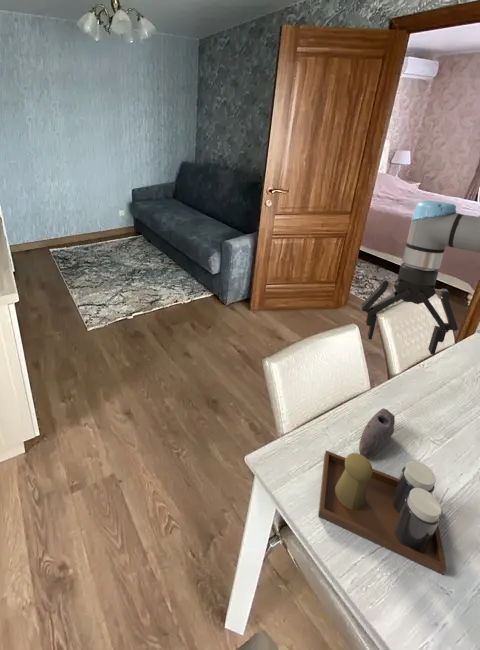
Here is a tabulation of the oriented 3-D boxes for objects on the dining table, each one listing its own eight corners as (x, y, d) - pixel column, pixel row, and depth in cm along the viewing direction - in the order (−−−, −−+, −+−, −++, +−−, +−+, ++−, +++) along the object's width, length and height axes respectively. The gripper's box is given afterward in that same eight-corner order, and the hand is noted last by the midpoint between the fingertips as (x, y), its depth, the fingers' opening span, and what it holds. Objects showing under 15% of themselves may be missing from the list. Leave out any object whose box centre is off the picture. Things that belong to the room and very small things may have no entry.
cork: (338, 476, 80) (347, 442, 76) (367, 492, 76) (378, 458, 72) (331, 498, 75) (341, 464, 71) (362, 516, 72) (374, 481, 68)
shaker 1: (419, 500, 75) (434, 466, 71) (423, 526, 70) (440, 491, 66) (390, 488, 77) (403, 454, 73) (392, 513, 73) (406, 478, 68)
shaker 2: (424, 529, 70) (440, 494, 66) (428, 559, 65) (446, 524, 61) (392, 515, 72) (406, 481, 68) (394, 543, 67) (409, 508, 63)
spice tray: (428, 499, 76) (432, 492, 75) (442, 577, 63) (446, 569, 62) (324, 457, 85) (325, 450, 84) (317, 518, 72) (319, 510, 71)
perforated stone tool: (369, 469, 82) (376, 449, 79) (347, 453, 86) (353, 433, 83) (395, 435, 90) (402, 415, 88) (375, 421, 94) (380, 402, 92)
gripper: (479, 271, 81) (454, 351, 86) (361, 253, 91) (345, 325, 96) (491, 281, 74) (464, 366, 80) (362, 260, 84) (346, 337, 90)
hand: (399, 344), depth 88 cm, fingers open, 13 cm apart
